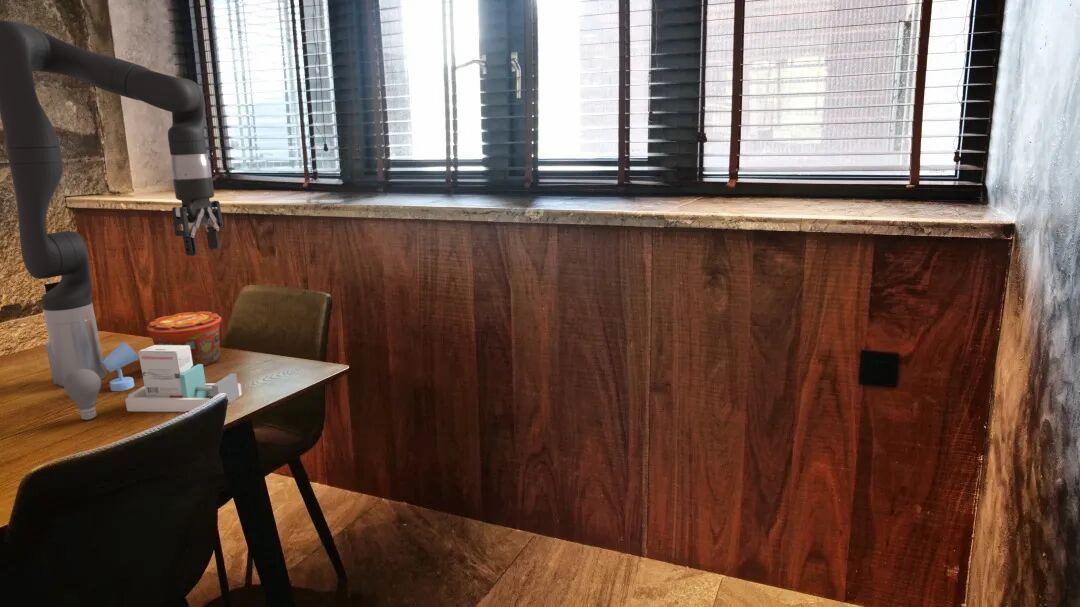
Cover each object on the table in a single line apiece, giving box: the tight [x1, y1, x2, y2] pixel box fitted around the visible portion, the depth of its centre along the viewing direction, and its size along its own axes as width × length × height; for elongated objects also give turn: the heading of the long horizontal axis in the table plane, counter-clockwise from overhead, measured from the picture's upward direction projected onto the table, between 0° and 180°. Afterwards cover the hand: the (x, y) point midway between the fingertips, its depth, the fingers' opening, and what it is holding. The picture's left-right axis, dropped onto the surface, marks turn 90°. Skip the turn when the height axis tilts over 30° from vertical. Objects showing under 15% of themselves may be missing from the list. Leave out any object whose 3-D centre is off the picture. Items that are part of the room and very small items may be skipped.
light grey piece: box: [124, 372, 243, 413], centre depth 147 cm, size 19×9×5 cm, turn 84°
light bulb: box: [63, 369, 102, 421], centre depth 140 cm, size 6×6×10 cm
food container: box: [146, 310, 223, 368], centre depth 173 cm, size 16×16×11 cm
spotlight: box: [102, 340, 140, 392], centre depth 157 cm, size 5×10×7 cm
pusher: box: [179, 364, 212, 398], centre depth 146 cm, size 5×7×7 cm
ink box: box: [137, 344, 193, 398], centre depth 146 cm, size 9×5×12 cm, turn 80°
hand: (203, 251), depth 158 cm, fingers open, 8 cm apart
